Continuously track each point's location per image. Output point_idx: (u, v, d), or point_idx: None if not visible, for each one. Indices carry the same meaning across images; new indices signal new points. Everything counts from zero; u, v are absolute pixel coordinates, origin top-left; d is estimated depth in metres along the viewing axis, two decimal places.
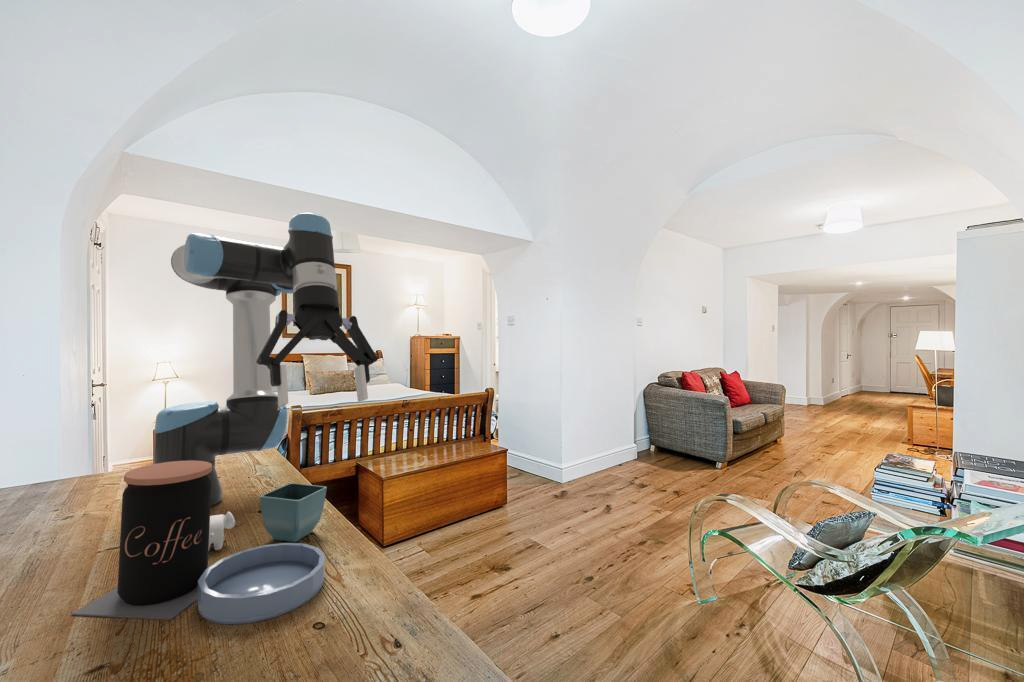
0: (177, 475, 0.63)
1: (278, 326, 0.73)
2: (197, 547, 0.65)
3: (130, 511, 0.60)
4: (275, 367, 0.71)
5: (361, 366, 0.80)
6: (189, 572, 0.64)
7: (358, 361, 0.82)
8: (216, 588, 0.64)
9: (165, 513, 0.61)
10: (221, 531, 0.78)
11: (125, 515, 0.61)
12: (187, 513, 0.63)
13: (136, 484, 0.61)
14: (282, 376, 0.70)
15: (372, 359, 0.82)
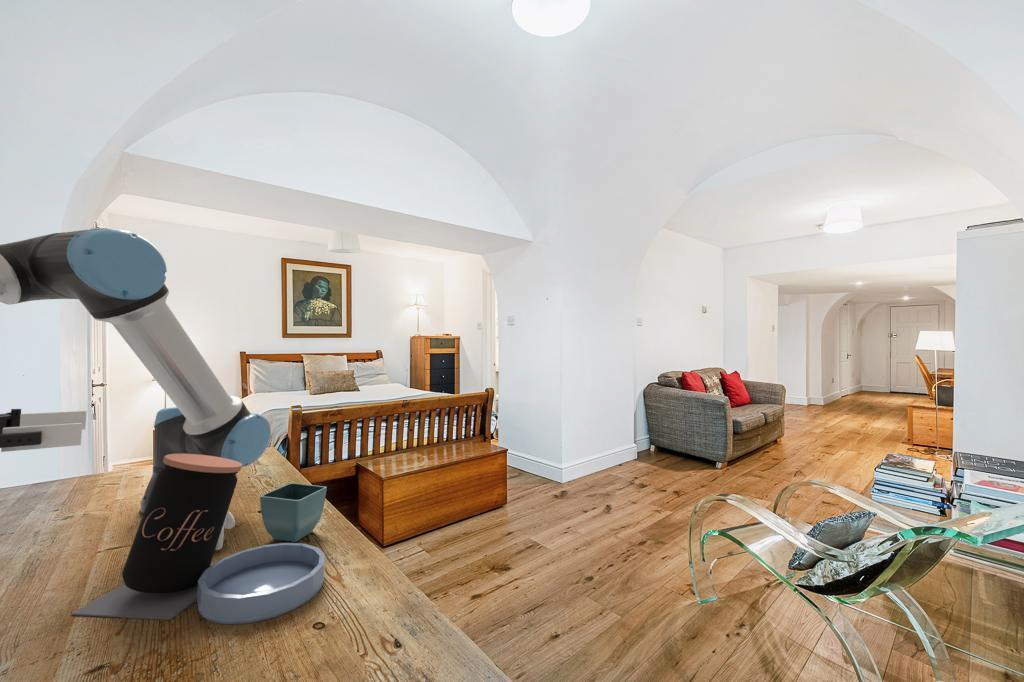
0: (209, 465, 0.65)
1: None
2: (205, 544, 0.65)
3: (159, 491, 0.63)
4: None
5: None
6: (190, 567, 0.63)
7: None
8: (216, 588, 0.64)
9: (187, 501, 0.63)
10: (221, 531, 0.78)
11: (153, 494, 0.63)
12: (206, 506, 0.64)
13: (172, 465, 0.64)
14: None
15: None
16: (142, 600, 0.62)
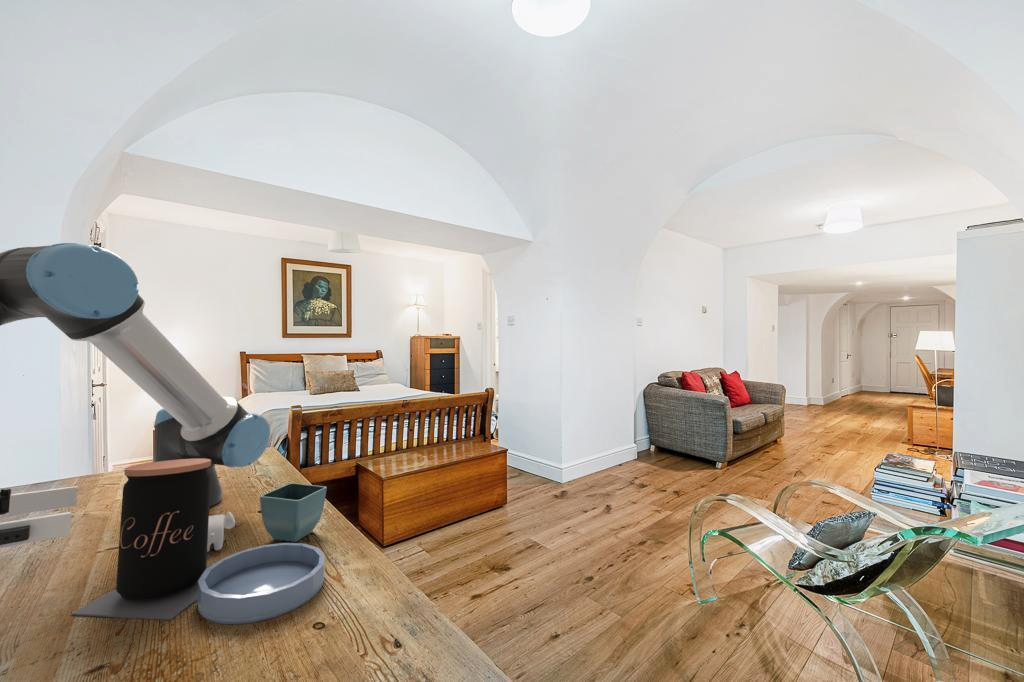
0: (167, 467, 0.63)
1: None
2: (188, 543, 0.64)
3: (125, 502, 0.62)
4: None
5: None
6: (178, 568, 0.62)
7: None
8: (216, 588, 0.64)
9: (153, 505, 0.62)
10: (221, 531, 0.78)
11: None
12: (175, 507, 0.63)
13: (130, 475, 0.62)
14: None
15: None
16: (142, 600, 0.62)
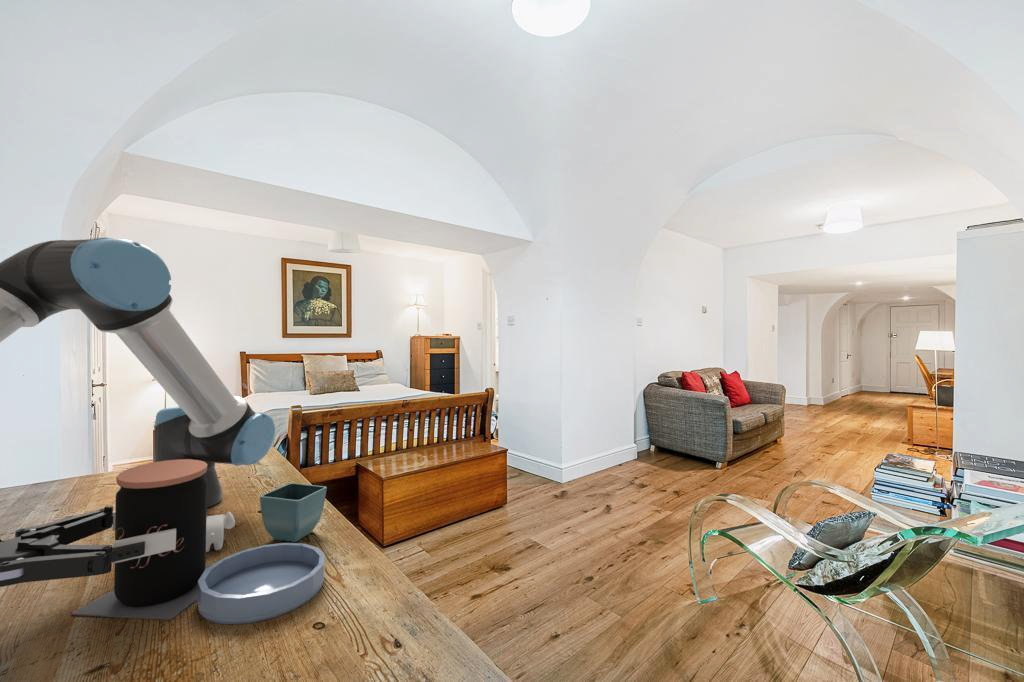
0: (153, 480, 0.60)
1: None
2: (178, 555, 0.62)
3: (116, 511, 0.60)
4: None
5: None
6: (168, 580, 0.61)
7: None
8: (216, 588, 0.64)
9: (140, 519, 0.59)
10: (221, 531, 0.78)
11: (115, 513, 0.61)
12: (163, 520, 0.60)
13: (119, 485, 0.60)
14: None
15: None
16: None
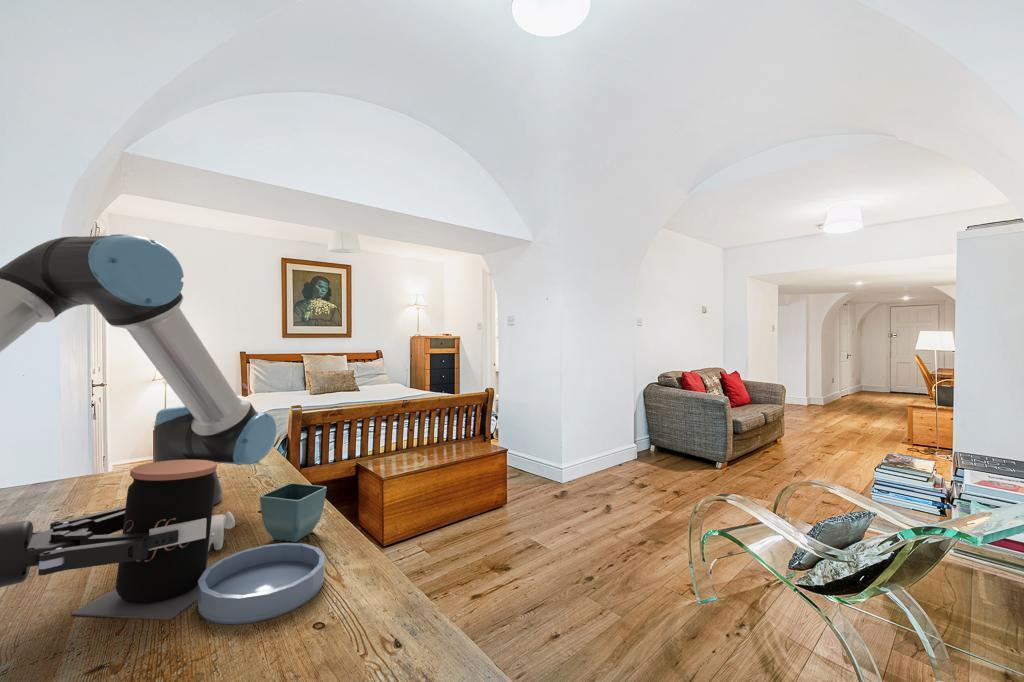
0: (166, 473, 0.62)
1: None
2: (183, 551, 0.63)
3: (127, 503, 0.62)
4: None
5: None
6: (171, 576, 0.62)
7: None
8: (216, 588, 0.64)
9: (150, 511, 0.61)
10: (221, 531, 0.78)
11: None
12: (172, 514, 0.62)
13: (133, 477, 0.62)
14: None
15: None
16: None
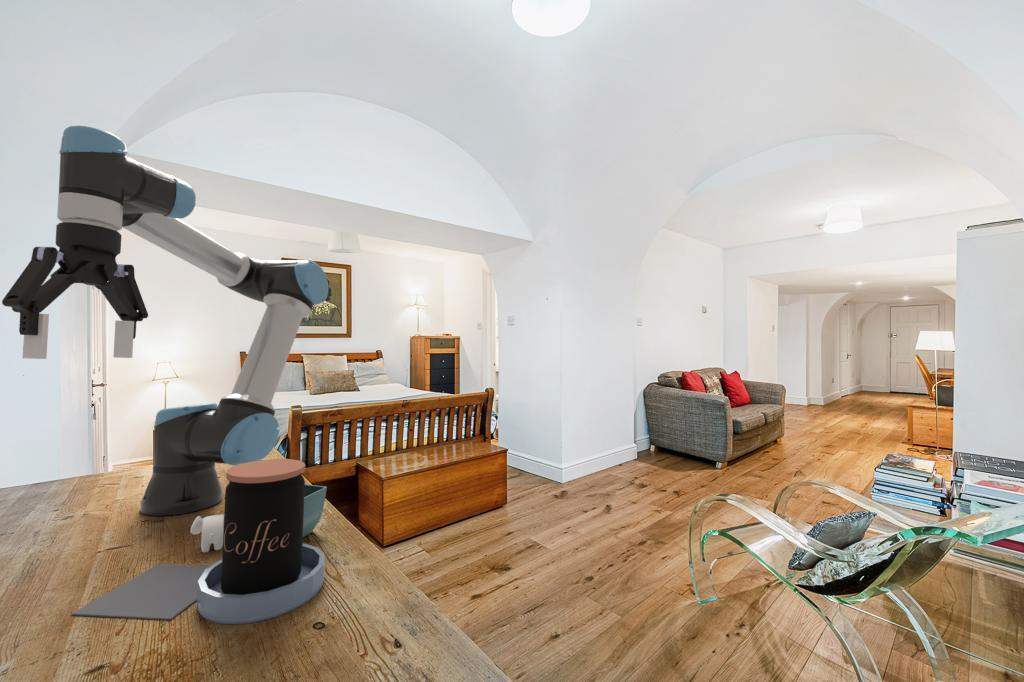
0: (264, 475, 0.62)
1: None
2: (284, 550, 0.63)
3: (227, 506, 0.62)
4: None
5: None
6: (276, 575, 0.62)
7: None
8: (216, 588, 0.64)
9: (253, 513, 0.61)
10: (221, 531, 0.78)
11: None
12: (273, 515, 0.62)
13: (231, 480, 0.62)
14: None
15: None
16: (142, 600, 0.62)
